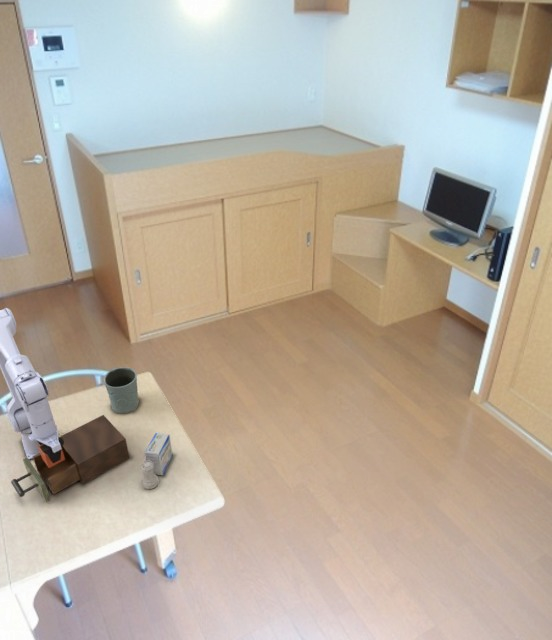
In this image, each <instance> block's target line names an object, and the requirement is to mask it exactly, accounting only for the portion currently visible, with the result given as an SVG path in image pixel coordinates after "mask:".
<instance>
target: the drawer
mask: <svg viewBox="0 0 552 640" xmlns="http://www.w3.org/2000/svg"><path fill="white" fill-rule="evenodd" d="M62 451H63V454H64V457H65V460H63V461H61V462H60V463H58V464H56V465H54V466H52V467H50V468H49V467H48V466H47V465H46V463H45V462H44V461H43V459H42V457H41V454H40V453H39V454H37V455H35V456H33V458H32V459H33V463H34V465H35V467H34V465H33V464H32V462H31V461H30V460H29V459H28V458H27V457H25V458H23V459H22V461H23V465H24V467H25V470H26V472H27V473H26V474H24V475H22V476H20V477H18V478H13V479H12V480H11V481H10V483H11V485H12V486H13V488H14V490H15V491H16V493H17V494H18V496H19V497H20V498H22V497H24V496H25V495H26V494H27V493H28V492H30V491H32V490H34V489H37V491H38V492H39V493H40V495H41V496H42V498H43V499H44V501H45V502H47V501H49V500H51V497H50V494H49V491H48V488H49V490H50V491H51V493H52V495H56V494H57V493H59V492H60V491H63V490H64V489H66V488H68V487H70V486H72V485H73V484H75V483H77V482H79V481H80V479H81V477H80V474H79V471H78V467H77V465H76V463H75V462H74V461H73V459H72V458H71V457H70V456H69V454H68V453H67V452H66V450H65V449H64V448H63V447H62ZM26 478H29V479H30V480H31V481H32V483H33V485H31V486H29V487H27V488H26V489H23V488H22V486H21V484H20V483H19V482H21V481H23V480H24V479H26ZM47 487H48V488H47Z"/></svg>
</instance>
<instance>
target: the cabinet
mask: <svg viewBox="0 0 552 640" xmlns="http://www.w3.org/2000/svg"><path fill="white" fill-rule="evenodd" d="M59 438H62V439H63V440H64V444H63V446H62V447H63V448H64V449H65V450H66V452H67V453H68V454H69V456H70V457H71V458H72V459H73V461H74V462H75V463H76V465H77V467H78V471H79V474H80V477H81V479H80V480H79V481H80V483H81V484H82V485H85V484H86V483H87V484H88V483H89V482H91V481H92V480H94V479H96V478H97V477H99V476H101V475H102V474H105V473H106V472H108V471H110V470H111V469H113V468H115V467H116V466H119V465H120V464H122V463H123V462H125V461H127V460H129V459H130V453H129V448H128V443H127V439H126V437H125V436H124V435H123V434H122V433H121V432H120V431H119V430H118V428H117V427H116V426H114V424H112V422H111V421H110V420H109V419H108V418H107V417H106V416H105V414H102V415H100V416H98V417H96V418H94V419H92V420H89V421H88V422H86V423H83V424H82V425H80V426H78V427H76V428H73V429H72V430H70V431H68V432H66V433H65V434H62V435H60V436H58V439H59Z"/></svg>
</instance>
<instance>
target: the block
mask: <svg viewBox="0 0 552 640" xmlns="http://www.w3.org/2000/svg"><path fill="white" fill-rule="evenodd" d="M42 445H44V444H42ZM42 445H40V446H42ZM40 446H38V448H39V451H40V454H41V457H42V459H43V461H44V462H45V463H46V465H47V466H48V467H49V468H50V467H52V466H54V465H56V464H58V463H60V462H61V461H63V460H65V457H64V454H63V451H62V449H61V460H59V461H57V462H55V463H53V462H52V461H51V460H50V458H49V457H48V455H47V454H45V453H44V452H43V451H42V450H41V449H40Z"/></svg>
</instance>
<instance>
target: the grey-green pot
mask: <svg viewBox="0 0 552 640" xmlns="http://www.w3.org/2000/svg"><path fill="white" fill-rule="evenodd" d="M137 377H138V376H137V372H136V370H134V369H133V368H132V367H128V366H121V367H115V368H112V369H110V370H109V371H108V372H107V373H106V374H105V375H104V377H103V384H104V386H105V389H106V391H107V394H108V398H109V401H110V405H111V409H112V411H113V412H115V413H117V414H120V415H121V414H123V415H124V414H128V413H129V414H130V413H131V412H134V411H135V410H136V409H137V408H138V406H139V404H140V403H139V401H140V400H139V392H138V378H137Z"/></svg>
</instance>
